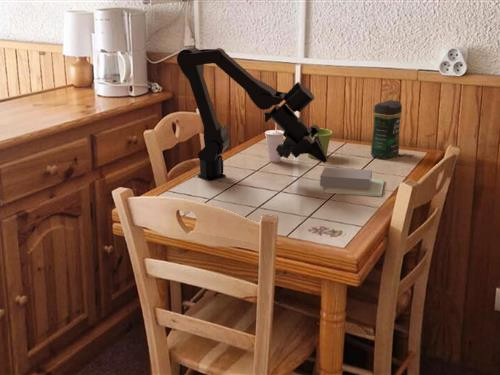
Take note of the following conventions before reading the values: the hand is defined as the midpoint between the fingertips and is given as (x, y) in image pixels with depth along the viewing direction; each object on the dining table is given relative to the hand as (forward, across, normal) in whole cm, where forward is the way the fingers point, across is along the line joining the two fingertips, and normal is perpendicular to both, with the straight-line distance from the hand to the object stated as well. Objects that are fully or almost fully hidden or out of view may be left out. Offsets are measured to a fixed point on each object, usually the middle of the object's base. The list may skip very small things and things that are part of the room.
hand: (326, 161), depth 197 cm
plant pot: (0, -29, -10) cm, 30 cm away
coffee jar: (+16, -35, +6) cm, 39 cm away
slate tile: (+3, 0, -4) cm, 5 cm away
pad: (+11, 0, +1) cm, 11 cm away
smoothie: (-9, -21, -19) cm, 30 cm away
